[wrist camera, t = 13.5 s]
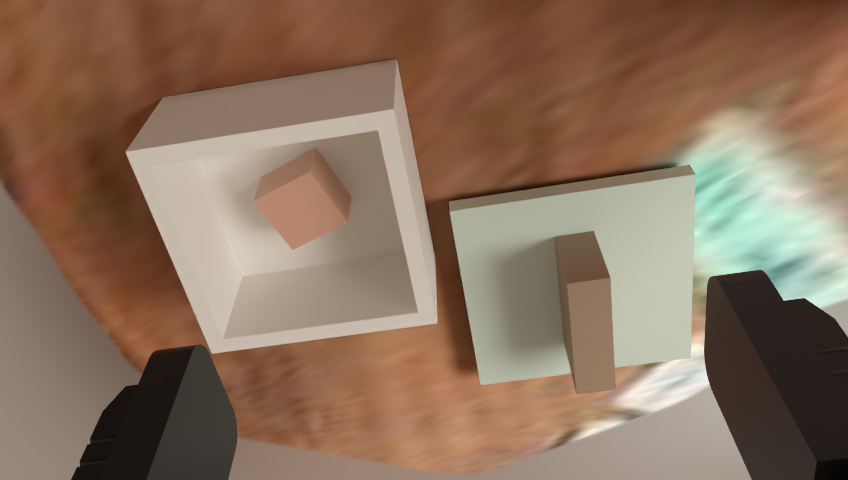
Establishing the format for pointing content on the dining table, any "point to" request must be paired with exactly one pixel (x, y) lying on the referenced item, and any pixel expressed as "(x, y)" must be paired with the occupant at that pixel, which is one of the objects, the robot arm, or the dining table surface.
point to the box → (254, 234)
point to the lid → (579, 276)
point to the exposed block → (303, 199)
